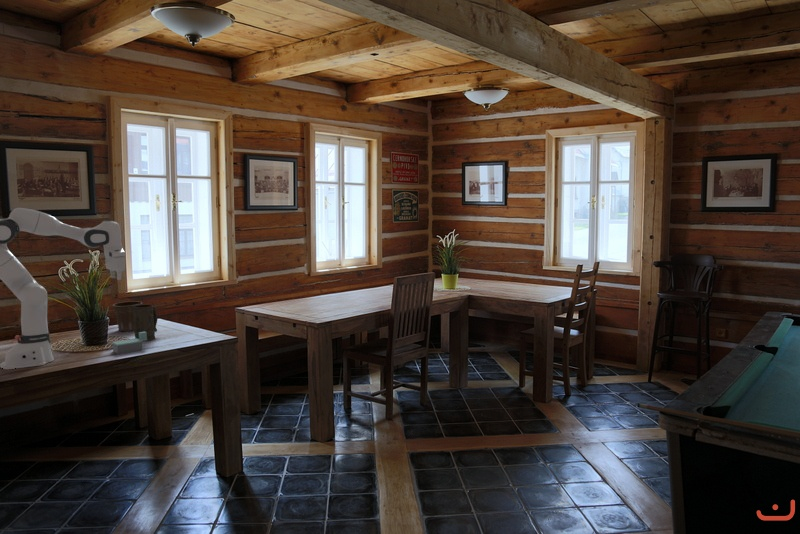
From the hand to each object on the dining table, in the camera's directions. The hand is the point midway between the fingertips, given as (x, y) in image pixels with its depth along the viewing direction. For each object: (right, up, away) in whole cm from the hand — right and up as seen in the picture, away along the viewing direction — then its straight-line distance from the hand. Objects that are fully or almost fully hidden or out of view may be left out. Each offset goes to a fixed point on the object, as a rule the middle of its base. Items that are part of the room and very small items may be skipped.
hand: (116, 278), depth 321 cm
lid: (+7, -33, +1) cm, 34 cm away
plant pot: (-18, -32, +56) cm, 67 cm away
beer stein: (+4, -35, +29) cm, 46 cm away
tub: (+6, -38, 0) cm, 38 cm away
